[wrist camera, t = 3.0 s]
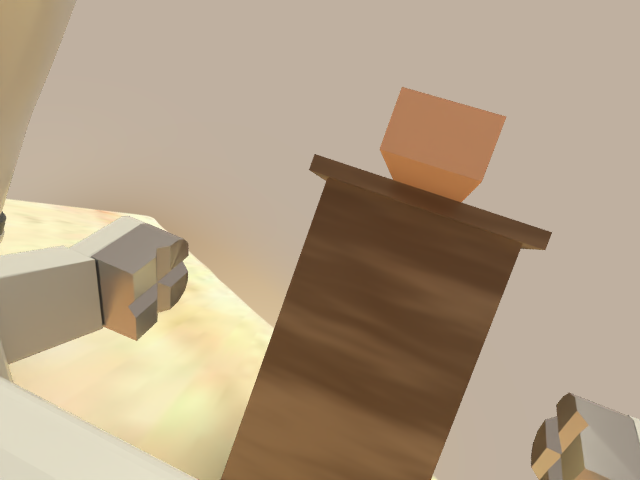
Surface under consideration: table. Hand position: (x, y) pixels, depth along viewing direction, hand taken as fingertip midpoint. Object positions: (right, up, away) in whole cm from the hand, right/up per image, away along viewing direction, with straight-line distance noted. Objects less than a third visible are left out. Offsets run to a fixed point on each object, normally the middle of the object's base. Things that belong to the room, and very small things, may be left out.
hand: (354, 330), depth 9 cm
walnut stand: (-2, -20, +25) cm, 32 cm away
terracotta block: (+6, +5, +19) cm, 20 cm away
